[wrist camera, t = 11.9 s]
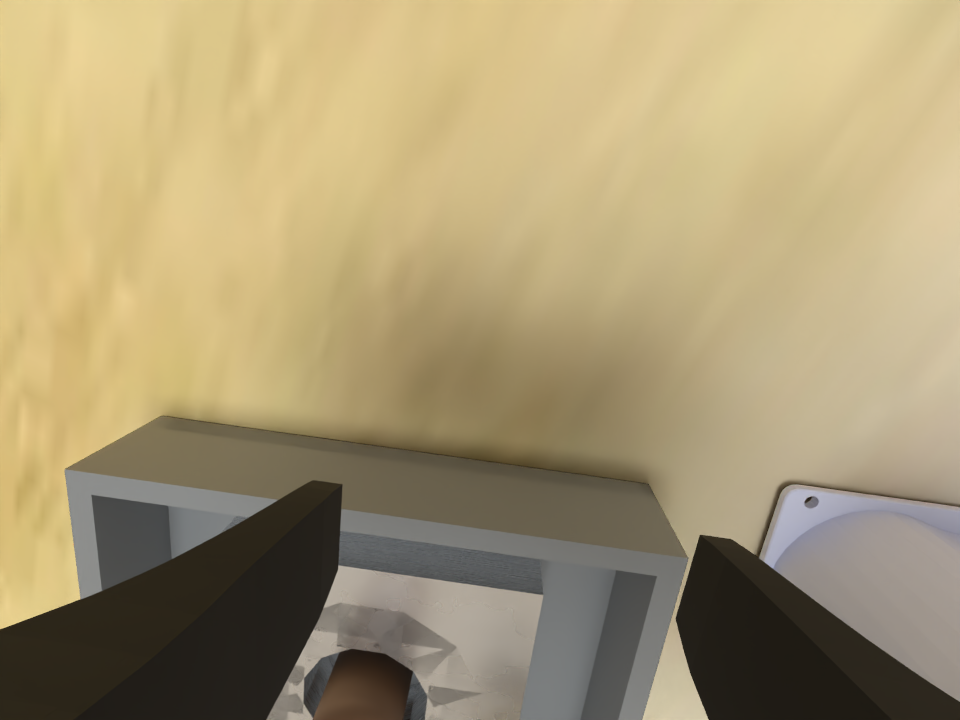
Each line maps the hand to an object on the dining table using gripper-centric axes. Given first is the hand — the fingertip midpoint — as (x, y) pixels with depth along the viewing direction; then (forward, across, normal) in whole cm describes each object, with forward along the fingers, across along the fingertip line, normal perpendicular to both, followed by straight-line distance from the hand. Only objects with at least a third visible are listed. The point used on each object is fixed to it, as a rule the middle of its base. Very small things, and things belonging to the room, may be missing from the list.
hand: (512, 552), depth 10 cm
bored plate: (+9, +4, +12) cm, 16 cm away
